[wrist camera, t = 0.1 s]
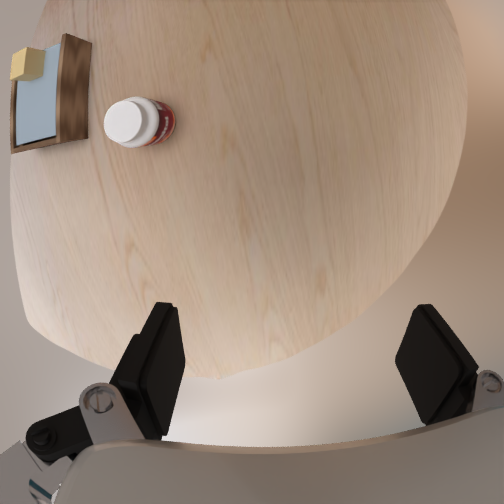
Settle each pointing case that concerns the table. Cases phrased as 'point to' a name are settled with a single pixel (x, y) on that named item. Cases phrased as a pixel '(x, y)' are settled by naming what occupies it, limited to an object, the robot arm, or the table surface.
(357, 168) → the table surface
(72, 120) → the walnut box
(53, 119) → the cover plate
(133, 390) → the robot arm
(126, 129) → the pill bottle
